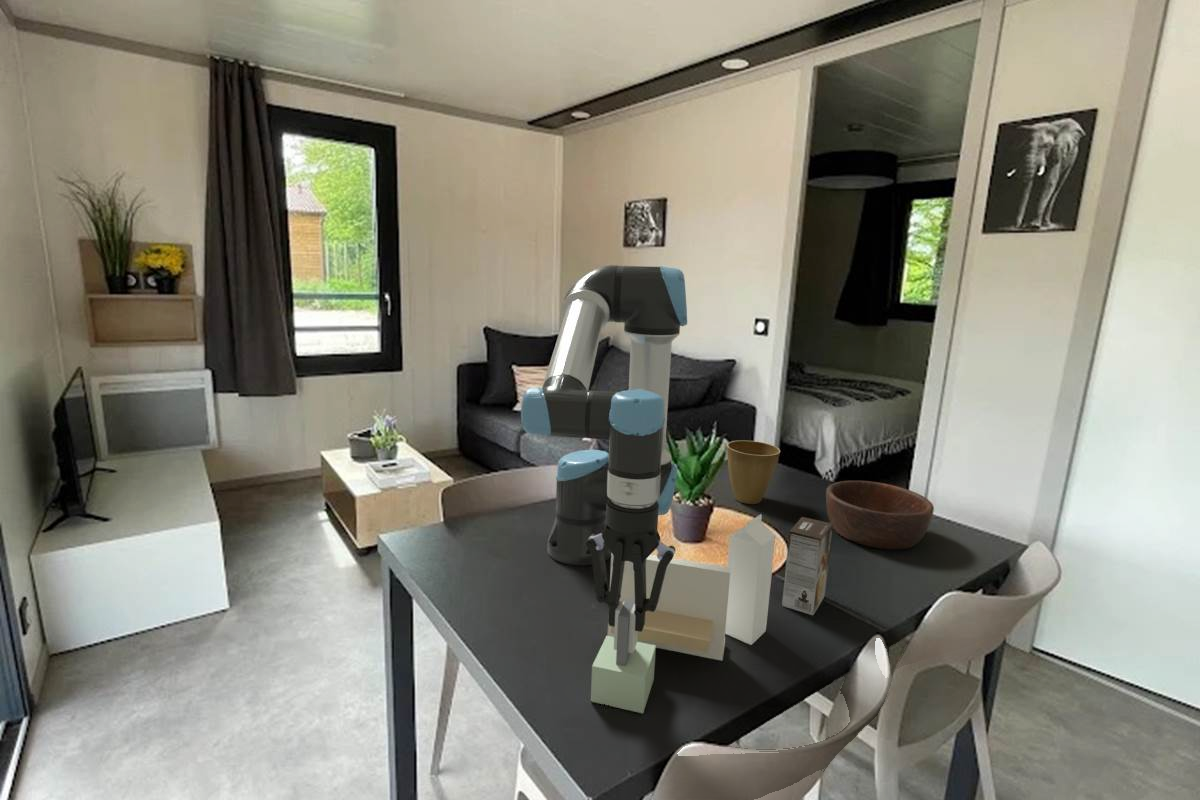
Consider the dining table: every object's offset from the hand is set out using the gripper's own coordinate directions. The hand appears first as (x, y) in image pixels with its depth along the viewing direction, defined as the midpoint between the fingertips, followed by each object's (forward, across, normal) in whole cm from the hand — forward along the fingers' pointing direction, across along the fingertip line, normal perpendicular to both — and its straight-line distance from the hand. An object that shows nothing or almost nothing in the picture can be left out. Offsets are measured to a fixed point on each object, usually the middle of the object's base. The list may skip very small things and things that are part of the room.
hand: (625, 646), depth 92 cm
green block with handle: (+8, 0, 0) cm, 8 cm away
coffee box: (+8, +28, +38) cm, 48 cm away
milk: (+8, +17, +23) cm, 30 cm away
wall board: (+8, +4, +12) cm, 15 cm away
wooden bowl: (+9, +47, +80) cm, 93 cm away
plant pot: (+9, +15, +93) cm, 94 cm away
